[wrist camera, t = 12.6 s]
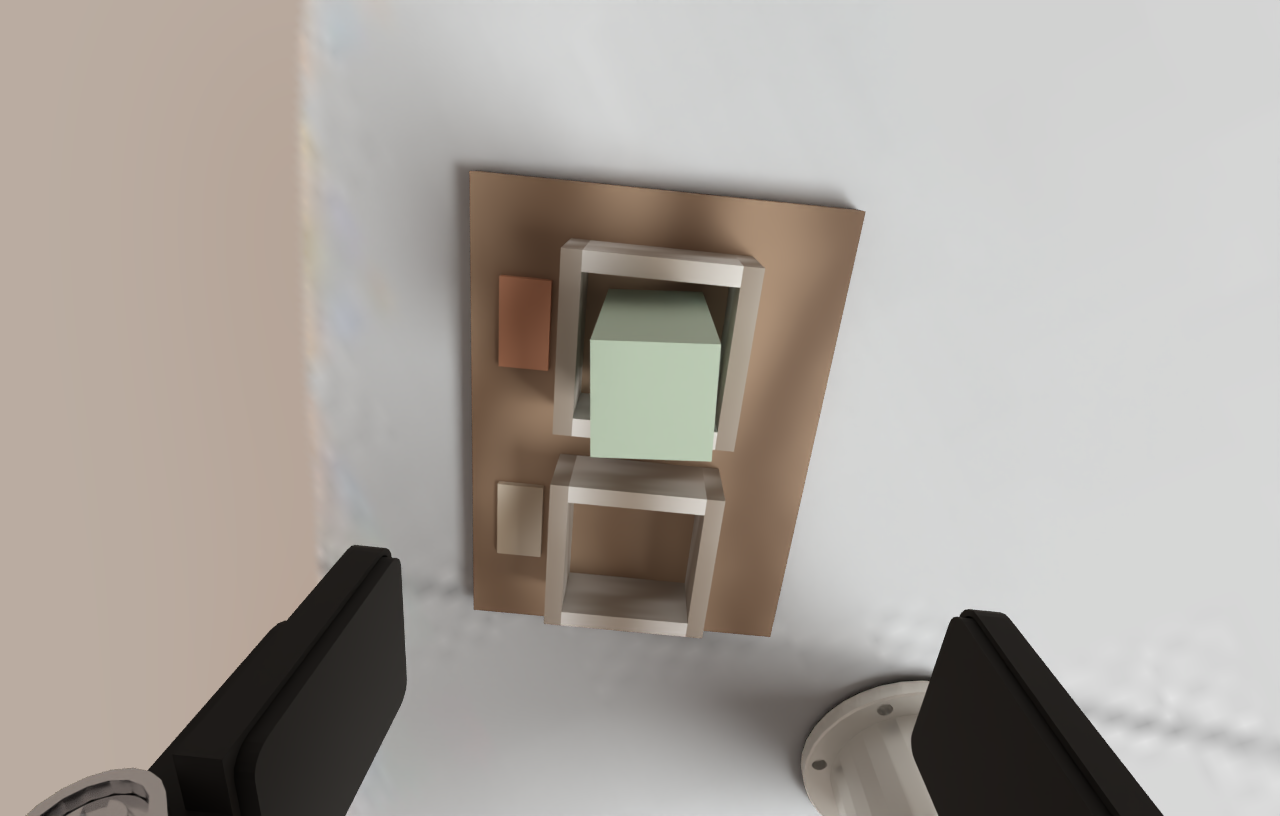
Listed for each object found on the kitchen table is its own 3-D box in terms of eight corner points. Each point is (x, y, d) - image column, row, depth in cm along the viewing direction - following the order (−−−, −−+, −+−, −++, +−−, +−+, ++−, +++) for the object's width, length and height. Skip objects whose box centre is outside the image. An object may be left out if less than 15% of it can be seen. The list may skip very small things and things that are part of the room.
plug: (702, 291, 26) (721, 344, 19) (696, 380, 28) (711, 461, 20) (608, 288, 26) (590, 339, 19) (607, 377, 28) (590, 457, 20)
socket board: (858, 209, 26) (892, 218, 22) (766, 623, 34) (780, 680, 30) (476, 170, 25) (445, 172, 22) (478, 597, 34) (456, 651, 30)
